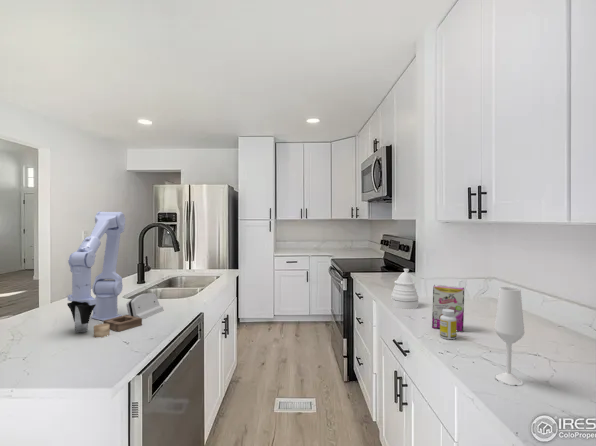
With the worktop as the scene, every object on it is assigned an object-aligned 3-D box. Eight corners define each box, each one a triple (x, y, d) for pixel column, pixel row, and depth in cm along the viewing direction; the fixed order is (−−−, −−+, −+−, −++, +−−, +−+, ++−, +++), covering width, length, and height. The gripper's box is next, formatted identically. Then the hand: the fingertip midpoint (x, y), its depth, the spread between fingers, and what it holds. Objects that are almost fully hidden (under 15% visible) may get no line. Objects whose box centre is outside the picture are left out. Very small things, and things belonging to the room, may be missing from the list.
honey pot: (396, 301, 177) (396, 266, 177) (421, 305, 169) (422, 269, 169) (387, 306, 166) (387, 269, 166) (413, 310, 159) (414, 272, 159)
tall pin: (72, 331, 122) (72, 306, 122) (83, 328, 125) (84, 303, 125) (78, 333, 120) (78, 307, 120) (90, 329, 123) (90, 305, 123)
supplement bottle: (455, 336, 124) (455, 309, 124) (457, 340, 119) (457, 312, 119) (439, 334, 126) (439, 307, 126) (440, 339, 121) (440, 311, 120)
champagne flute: (490, 372, 94) (492, 285, 94) (518, 376, 92) (520, 287, 92) (497, 383, 87) (498, 290, 87) (527, 387, 85) (529, 292, 85)
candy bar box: (431, 328, 132) (432, 286, 132) (432, 325, 137) (433, 284, 137) (463, 332, 128) (464, 289, 128) (463, 329, 132) (464, 286, 132)
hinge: (139, 320, 138) (132, 297, 138) (130, 323, 139) (123, 300, 139) (164, 310, 154) (157, 289, 155) (155, 313, 155) (149, 292, 156)
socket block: (103, 327, 128) (103, 320, 128) (126, 321, 137) (126, 314, 137) (118, 331, 124) (118, 324, 124) (141, 324, 132) (141, 318, 132)
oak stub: (90, 336, 119) (90, 326, 119) (104, 332, 123) (104, 322, 123) (99, 338, 117) (99, 328, 117) (112, 334, 121) (112, 324, 121)
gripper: (58, 284, 122) (58, 322, 123) (81, 288, 116) (81, 328, 116) (79, 281, 129) (78, 317, 129) (102, 285, 122) (101, 323, 122)
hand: (81, 322), depth 123 cm, fingers closed on tall pin, 4 cm apart
